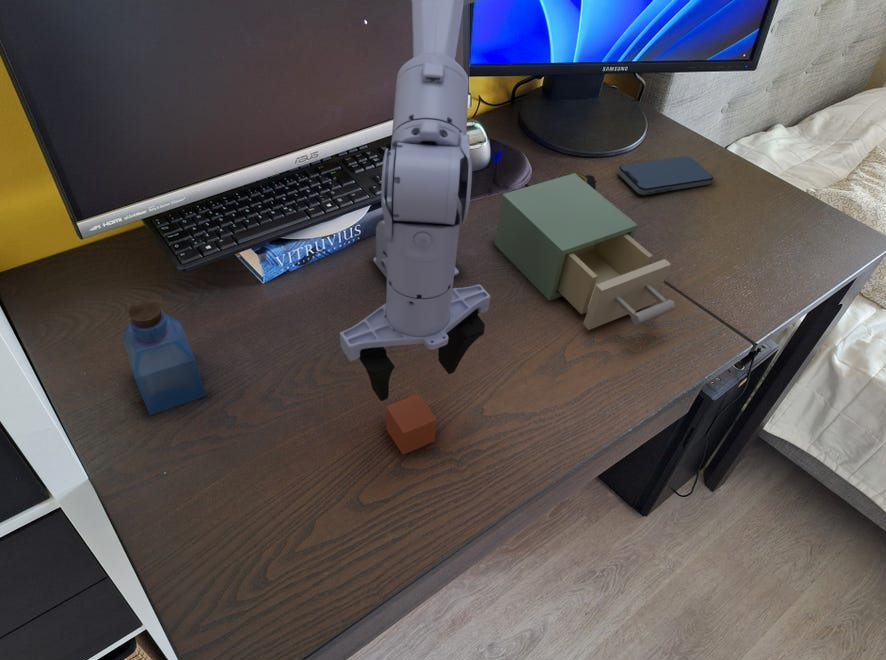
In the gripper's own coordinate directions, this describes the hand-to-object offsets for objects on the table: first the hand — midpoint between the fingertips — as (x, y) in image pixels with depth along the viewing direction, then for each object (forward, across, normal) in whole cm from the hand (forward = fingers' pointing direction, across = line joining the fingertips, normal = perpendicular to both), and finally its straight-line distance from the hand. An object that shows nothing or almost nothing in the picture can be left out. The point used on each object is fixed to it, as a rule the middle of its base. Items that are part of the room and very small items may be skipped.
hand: (413, 379), depth 67 cm
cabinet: (+9, +34, +18) cm, 39 cm away
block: (+9, 0, 0) cm, 9 cm away
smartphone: (+10, +63, +26) cm, 69 cm away
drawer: (+8, +33, +7) cm, 35 cm away
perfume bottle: (+10, -21, +18) cm, 30 cm away
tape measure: (+10, +45, +28) cm, 54 cm away
